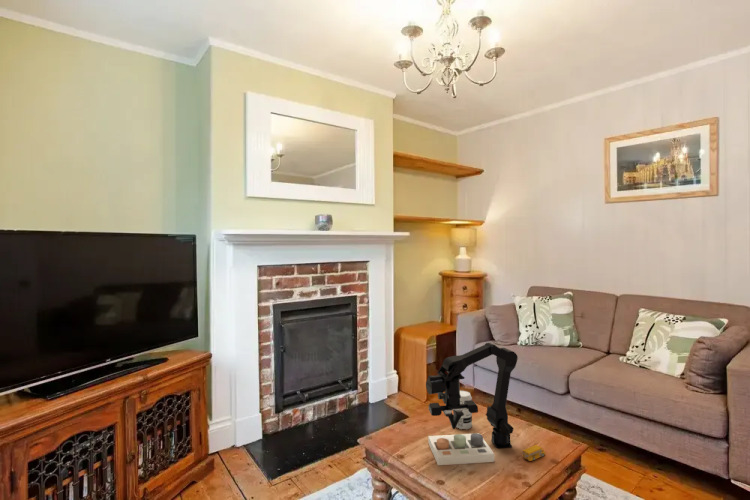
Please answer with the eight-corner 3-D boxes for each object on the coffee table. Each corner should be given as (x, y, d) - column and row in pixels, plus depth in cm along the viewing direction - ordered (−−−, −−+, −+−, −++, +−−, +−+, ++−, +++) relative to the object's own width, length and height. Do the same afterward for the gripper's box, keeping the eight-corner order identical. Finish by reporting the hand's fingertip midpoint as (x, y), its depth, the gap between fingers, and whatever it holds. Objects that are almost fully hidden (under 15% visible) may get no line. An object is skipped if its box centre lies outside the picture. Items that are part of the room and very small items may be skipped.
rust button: (447, 445, 156) (446, 437, 156) (450, 451, 151) (450, 443, 151) (435, 445, 155) (435, 438, 155) (438, 452, 151) (438, 444, 151)
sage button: (463, 441, 156) (463, 433, 156) (467, 447, 152) (467, 440, 152) (452, 441, 156) (452, 434, 156) (455, 448, 151) (455, 440, 151)
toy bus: (545, 455, 151) (545, 446, 151) (528, 463, 146) (528, 453, 146) (538, 452, 154) (538, 442, 154) (522, 459, 149) (522, 449, 149)
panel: (479, 440, 163) (479, 432, 163) (494, 461, 147) (494, 453, 147) (428, 443, 161) (428, 435, 161) (438, 465, 145) (438, 457, 145)
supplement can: (452, 421, 180) (452, 389, 180) (471, 422, 179) (470, 390, 179) (454, 429, 172) (453, 396, 172) (473, 430, 171) (472, 397, 171)
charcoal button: (480, 440, 157) (480, 432, 157) (484, 446, 152) (484, 438, 152) (469, 440, 157) (469, 433, 157) (473, 447, 152) (473, 439, 152)
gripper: (468, 381, 162) (469, 417, 162) (425, 384, 160) (426, 421, 161) (477, 391, 151) (479, 430, 151) (431, 395, 149) (432, 434, 150)
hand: (453, 428), depth 154 cm, fingers closed
